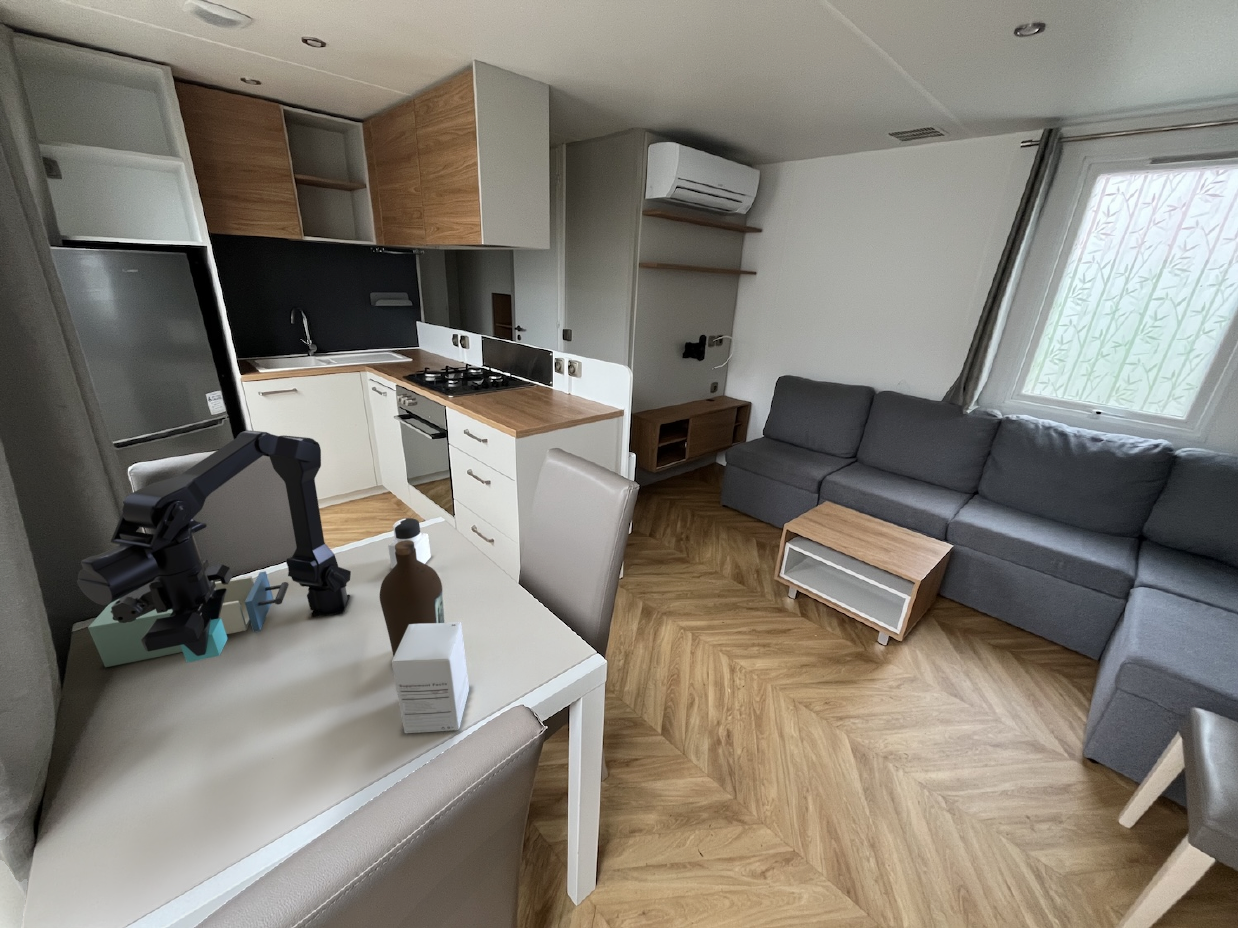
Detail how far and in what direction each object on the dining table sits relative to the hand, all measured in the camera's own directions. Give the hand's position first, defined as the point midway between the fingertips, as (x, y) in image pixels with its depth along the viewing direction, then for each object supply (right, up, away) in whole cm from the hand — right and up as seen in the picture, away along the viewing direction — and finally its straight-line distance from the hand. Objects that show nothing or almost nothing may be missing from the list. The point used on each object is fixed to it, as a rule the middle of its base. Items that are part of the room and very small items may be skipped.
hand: (206, 645), depth 82 cm
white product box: (+38, -12, +2) cm, 40 cm away
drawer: (-10, -2, +21) cm, 24 cm away
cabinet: (-22, -5, +17) cm, 28 cm away
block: (0, -1, 0) cm, 1 cm away
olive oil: (+31, -7, +13) cm, 34 cm away
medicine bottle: (+16, +5, +44) cm, 47 cm away
